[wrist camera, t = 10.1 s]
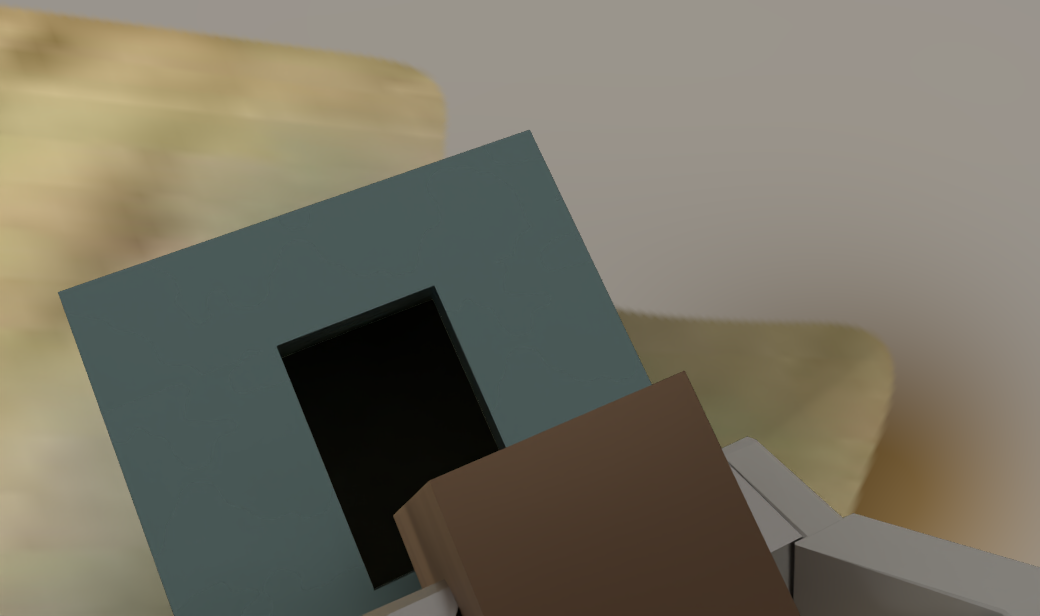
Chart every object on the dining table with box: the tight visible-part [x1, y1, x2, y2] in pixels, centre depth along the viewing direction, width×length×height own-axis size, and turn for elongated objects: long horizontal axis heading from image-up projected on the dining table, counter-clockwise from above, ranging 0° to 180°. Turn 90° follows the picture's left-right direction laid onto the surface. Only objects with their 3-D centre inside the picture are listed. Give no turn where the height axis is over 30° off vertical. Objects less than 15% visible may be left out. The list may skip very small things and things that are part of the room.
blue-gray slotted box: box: [58, 130, 652, 616], centre depth 26 cm, size 12×12×11 cm
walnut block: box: [393, 371, 800, 616], centre depth 11 cm, size 4×2×8 cm, turn 24°
